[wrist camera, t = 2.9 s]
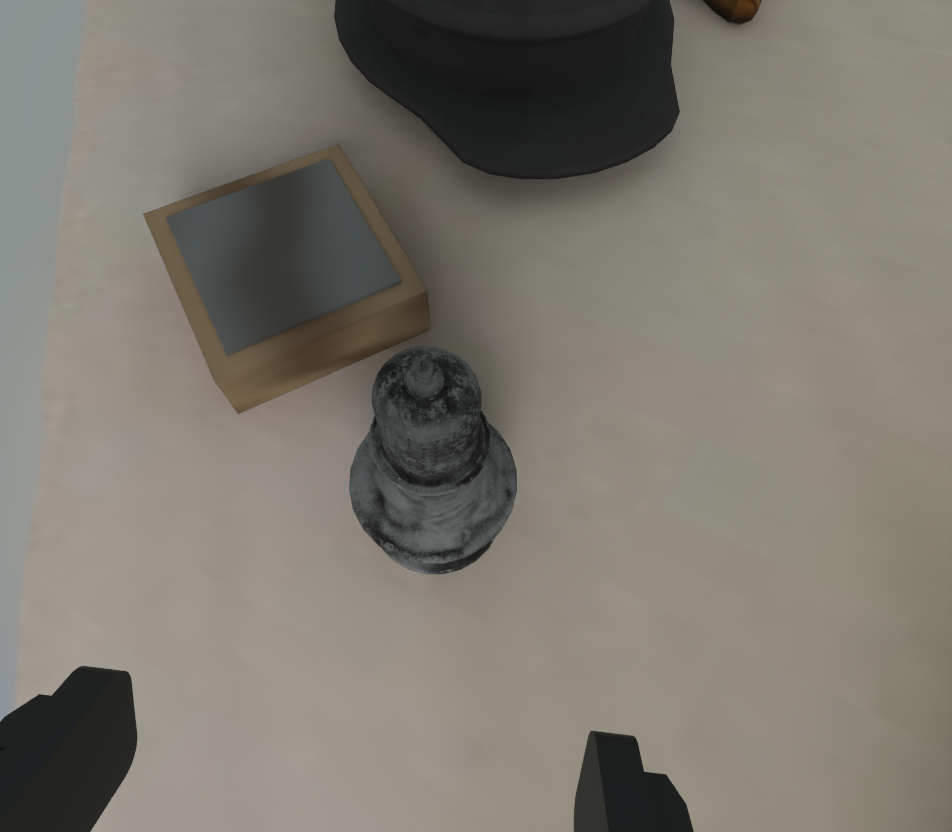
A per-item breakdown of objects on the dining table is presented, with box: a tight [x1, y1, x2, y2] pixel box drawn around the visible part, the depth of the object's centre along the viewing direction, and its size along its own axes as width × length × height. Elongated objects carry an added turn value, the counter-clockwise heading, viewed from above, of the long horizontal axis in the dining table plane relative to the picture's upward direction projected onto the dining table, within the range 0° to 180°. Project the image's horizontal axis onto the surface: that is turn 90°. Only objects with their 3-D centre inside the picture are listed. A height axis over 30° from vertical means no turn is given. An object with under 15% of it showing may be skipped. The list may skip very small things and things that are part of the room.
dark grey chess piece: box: [349, 347, 517, 574], centre depth 21 cm, size 6×6×12 cm
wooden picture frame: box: [143, 144, 430, 413], centre depth 29 cm, size 9×9×3 cm
